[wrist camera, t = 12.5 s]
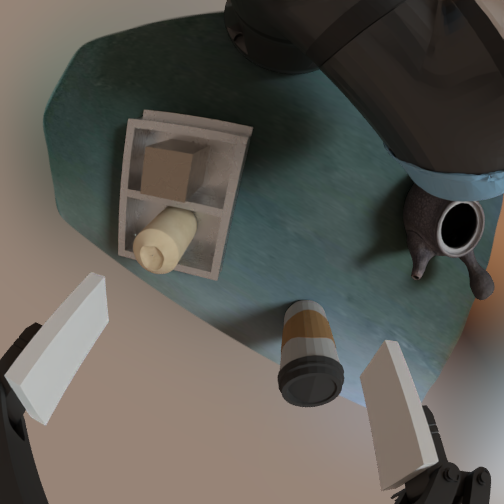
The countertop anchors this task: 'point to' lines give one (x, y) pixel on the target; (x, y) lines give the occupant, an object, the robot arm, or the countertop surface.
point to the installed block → (174, 169)
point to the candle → (165, 240)
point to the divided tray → (202, 201)
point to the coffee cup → (308, 357)
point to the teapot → (445, 235)
